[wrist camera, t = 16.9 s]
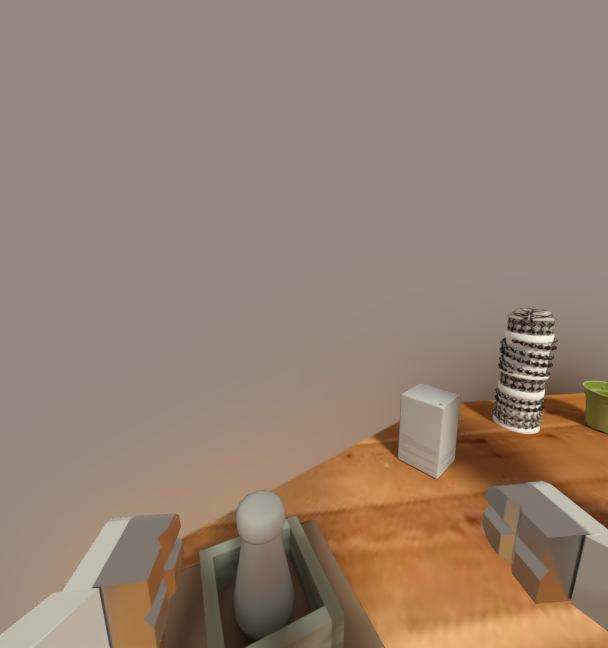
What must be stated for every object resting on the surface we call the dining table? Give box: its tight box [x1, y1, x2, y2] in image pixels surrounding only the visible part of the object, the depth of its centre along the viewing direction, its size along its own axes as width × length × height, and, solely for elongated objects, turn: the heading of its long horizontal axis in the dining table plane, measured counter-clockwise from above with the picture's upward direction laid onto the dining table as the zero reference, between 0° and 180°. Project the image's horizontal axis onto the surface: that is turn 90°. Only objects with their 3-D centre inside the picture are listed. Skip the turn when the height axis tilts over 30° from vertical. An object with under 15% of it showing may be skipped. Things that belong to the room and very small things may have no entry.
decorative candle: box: [492, 308, 557, 434], centre depth 61 cm, size 9×9×25 cm
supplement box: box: [398, 383, 461, 479], centre depth 51 cm, size 7×7×13 cm
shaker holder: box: [164, 515, 385, 648], centre depth 28 cm, size 18×16×6 cm
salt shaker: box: [233, 490, 295, 641], centre depth 27 cm, size 6×6×13 cm
